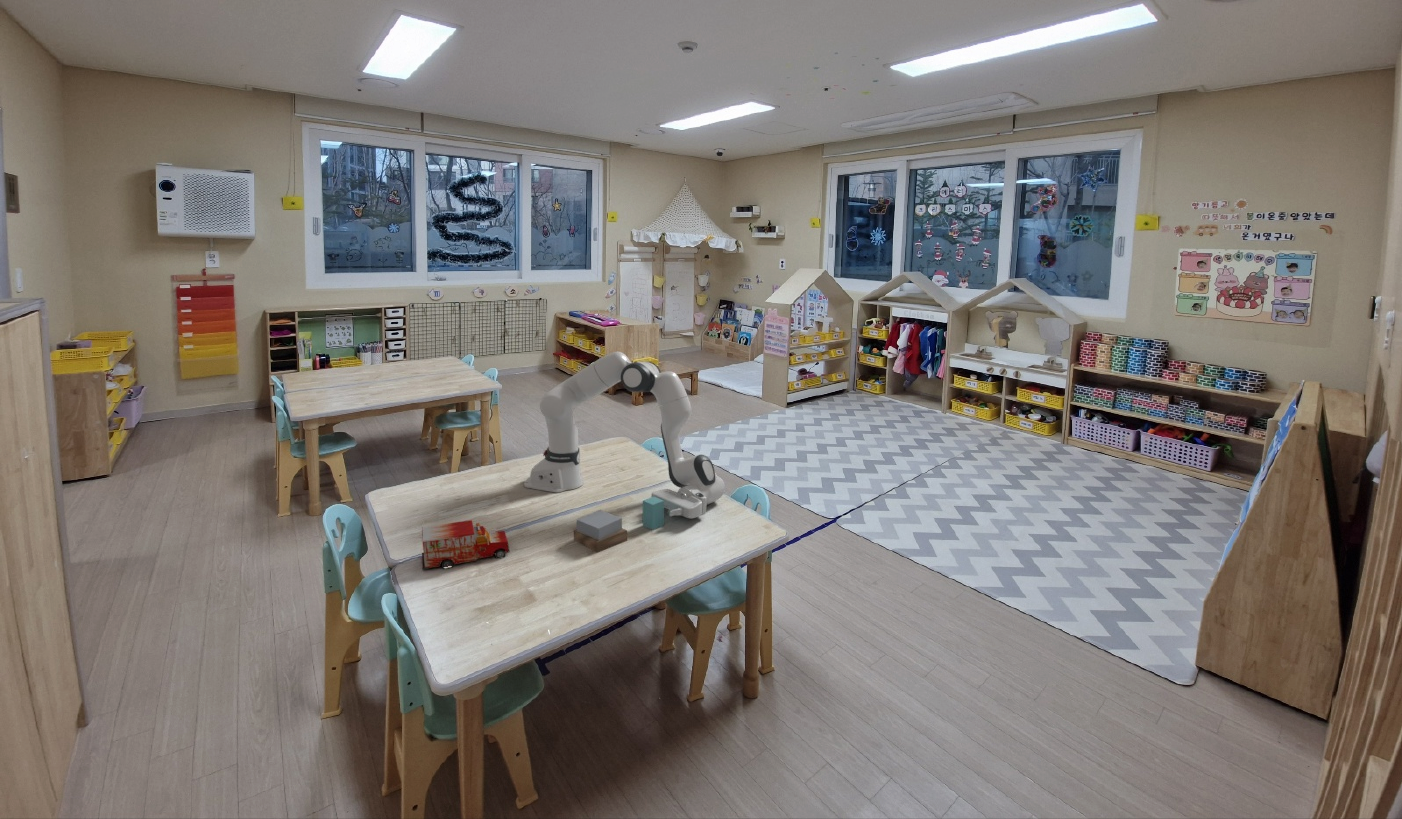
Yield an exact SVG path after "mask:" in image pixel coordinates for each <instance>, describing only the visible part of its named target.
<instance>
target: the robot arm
mask: <svg viewBox="0 0 1402 819" xmlns="http://www.w3.org/2000/svg"><path fill="white" fill-rule="evenodd" d="M620 382H621V384H622V386H623V387H624V389H626V390H627V391H629V392H632V393H649V392H650V393H652V394H653V396H654V397H655V398H656V403H657V405H658V406H659V412H660V416H661V424H660V433H661V438H662V442H663V446H664V451H665V455H666V460H667V466H668V468H667V470H668V478H669V479H670V481H671V483H672V484H673V485H674V486H676V487H677V488H679V489H678V490H677V491H674V490H672V489H669V488H664V489H663V488H662V489H660V490H655V491H653V492H651V496H650V498H651V497H656V498H659V499H661V500H663V501H664V509H666V510H667V516H669V517H673V516H682V517H685V518H687V519H695V518H698V517H700V516H704V515H705V514H707V513H706V512H707V505H710V504H712V503H714V502H717V501H718V500H719V499H721V498H722V497H723V495H724V493H725V490H726V485H725V482H724V480H723V479H722V478H721V477H720V476H719V475H717V473H716V471H715V467H714V464H713V462H712V460H711V459H710V458H709V457H708V456H707V455H705V454H697V455H694V456H691V457H687V458H685V457H684V454H683V451H682V445H681V441H680V432H681V430H682V428H683V427H684V426H685V425H686V423H687V422H689V419H690V418H691V415H692V404H691V402H690V398H689V396H688V394H687V391H686V388H685V386H684V384H683V383H682V381H681V379H680V377H679V375H678V374H677V373H675V372H674V371H671V370H670V371H669V370H667V371H663V372H661V369H660V368H659V366H658V365H657V364H656V363H654V362H651V361H646V360H645V361H643V360H642V361H641V360H640V361H634V362H632V361H631V360H630V359H629V357H628V356H627V355H626V354H625V353H623V352H621V351H614V352H610V353H608V354H607V355H604V356H602V357H600V358H599V359H597V360H596V361H593V362H592V363H590V364H589V365H587V366H586V367H584V368H582V369H581V370H579V371H578V372H576V373H575V374H574V375H571V376H570V377H568V378H567V379H566V380H564V381H562V382H561V383H560V382H559V384H558V385H556V386H554V387H553V388H552V389H550V390H549V391H547V392H546V393H545V394H544V395H543V397H542V399H541V400H540V403H539V409H540V413H541V414H542V416H543V418H544V419H545V425H546V427H547V434H548V439H547V440H548V447H546V449H545V450H544V452H542V456H543V457H544V458H543V459H541V460H540V461H539V462H537V463H536V464H535V465H534V466H533V468H532V469H531V471H530V474H529V475H530V476H529V477H528V478H526V479H525V481H524V484H523V485H524V488H527V489H533V490H539V491H544V492H545V491H546V492H550V493H551V492H552V493H562V492H564V491H570V490H574V489H575V490H576V489H577V488H580V487H582V486H583V485H584V483H585V482H584V479H583V475H582V472H581V465H580V462H581V453H580V447H579V431H578V427H577V426H576V423H575V418H574V410H576V409H577V408H579V407H580V406H581V405H583V404H585V403H586V402H588V401H590V400H593V398H596V397H597V396H599V395H601V394H602V393H604V392H606V391H607V390H608V389H610V388H612V387H613V386H615V385H616V384H618V383H620Z"/></svg>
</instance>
